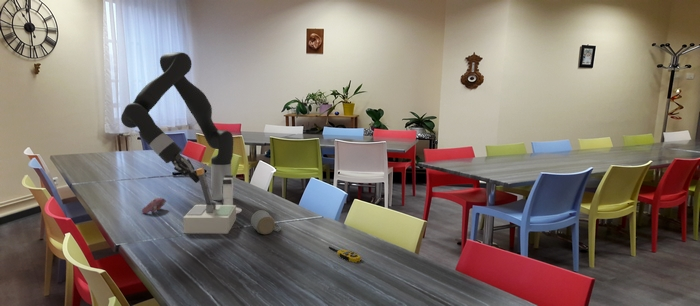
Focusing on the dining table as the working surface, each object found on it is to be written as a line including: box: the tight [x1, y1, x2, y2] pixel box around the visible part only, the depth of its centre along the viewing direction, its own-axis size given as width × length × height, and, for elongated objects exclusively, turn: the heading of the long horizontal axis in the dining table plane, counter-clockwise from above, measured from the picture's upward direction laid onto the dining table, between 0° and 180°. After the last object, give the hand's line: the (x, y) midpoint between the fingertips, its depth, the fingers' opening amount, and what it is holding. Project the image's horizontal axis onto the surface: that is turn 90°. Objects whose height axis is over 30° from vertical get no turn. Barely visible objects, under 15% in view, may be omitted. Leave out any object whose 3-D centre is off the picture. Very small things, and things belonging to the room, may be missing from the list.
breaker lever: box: [195, 167, 214, 208], centre depth 168 cm, size 2×4×17 cm, turn 5°
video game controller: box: [141, 197, 167, 214], centre depth 186 cm, size 10×5×7 cm, turn 169°
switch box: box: [182, 200, 237, 234], centre depth 169 cm, size 16×18×9 cm
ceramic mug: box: [250, 209, 282, 236], centre depth 165 cm, size 11×8×8 cm
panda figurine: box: [221, 174, 242, 215], centre depth 190 cm, size 12×11×15 cm
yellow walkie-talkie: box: [328, 246, 362, 263], centre depth 145 cm, size 5×2×15 cm
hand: (198, 181), depth 167 cm, fingers closed
